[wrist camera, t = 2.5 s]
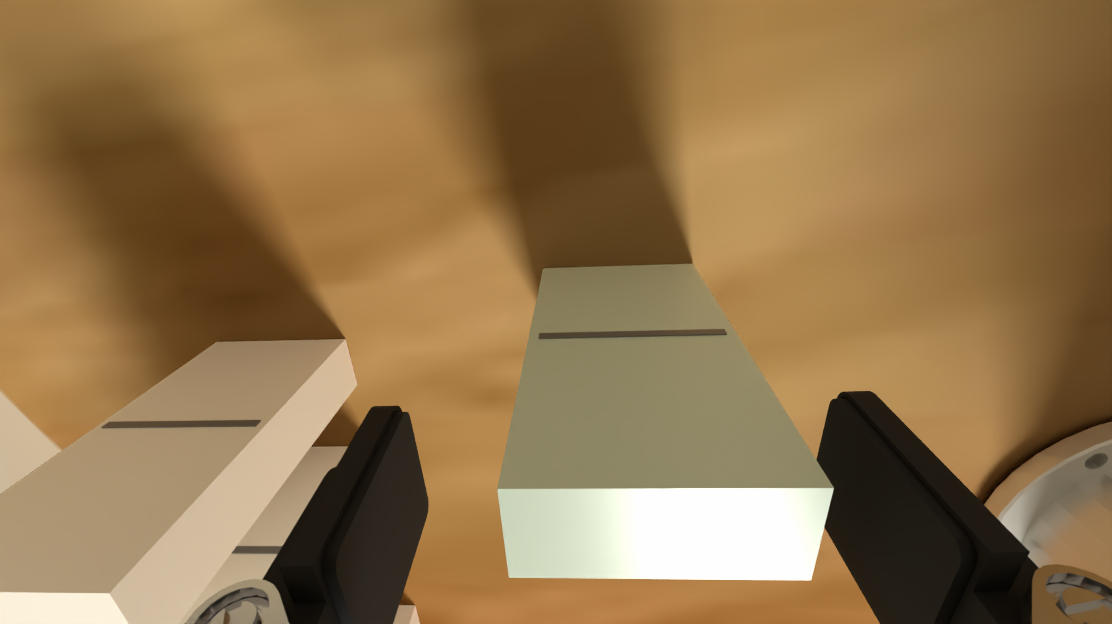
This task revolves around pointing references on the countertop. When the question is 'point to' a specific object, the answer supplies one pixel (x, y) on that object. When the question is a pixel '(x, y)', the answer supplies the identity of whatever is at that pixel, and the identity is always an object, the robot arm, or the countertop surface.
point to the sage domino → (651, 440)
